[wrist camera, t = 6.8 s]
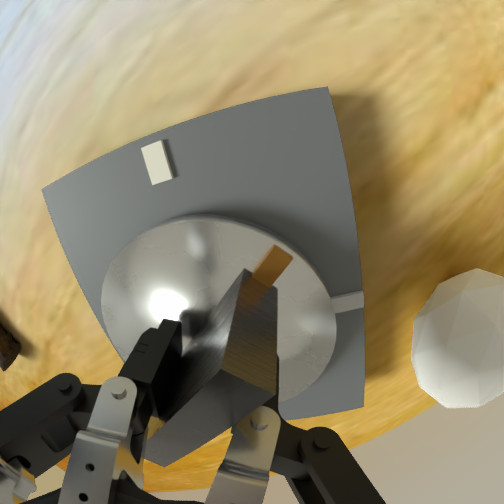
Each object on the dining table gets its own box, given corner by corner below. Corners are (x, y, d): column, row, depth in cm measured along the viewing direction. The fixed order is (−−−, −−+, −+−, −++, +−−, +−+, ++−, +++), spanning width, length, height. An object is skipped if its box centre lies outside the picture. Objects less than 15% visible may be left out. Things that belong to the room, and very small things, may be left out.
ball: (445, 259, 16) (544, 259, 9) (439, 363, 17) (526, 382, 9) (383, 276, 13) (533, 285, 6) (377, 408, 13) (488, 454, 6)
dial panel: (69, 179, 13) (39, 190, 11) (318, 95, 11) (328, 85, 9) (177, 399, 20) (168, 425, 18) (357, 380, 18) (364, 409, 15)
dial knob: (92, 333, 14) (40, 406, 9) (164, 160, 10) (58, 197, 5) (249, 417, 16) (239, 499, 10) (380, 304, 12) (428, 408, 6)
